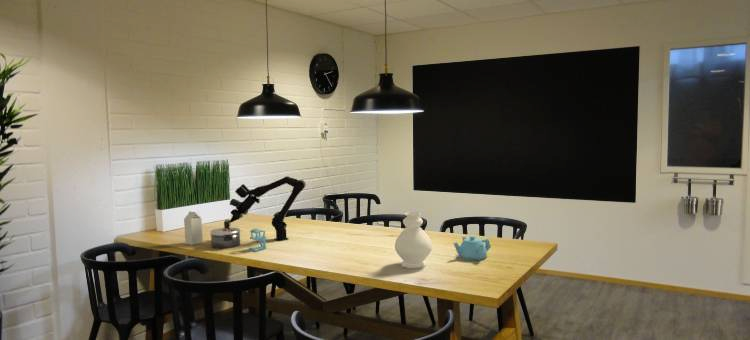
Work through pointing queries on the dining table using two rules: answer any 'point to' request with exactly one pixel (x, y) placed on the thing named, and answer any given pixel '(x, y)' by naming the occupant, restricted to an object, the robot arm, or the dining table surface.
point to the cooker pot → (225, 241)
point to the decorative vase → (413, 242)
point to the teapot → (472, 248)
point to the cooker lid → (225, 230)
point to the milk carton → (193, 229)
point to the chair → (259, 238)
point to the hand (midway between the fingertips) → (230, 222)
